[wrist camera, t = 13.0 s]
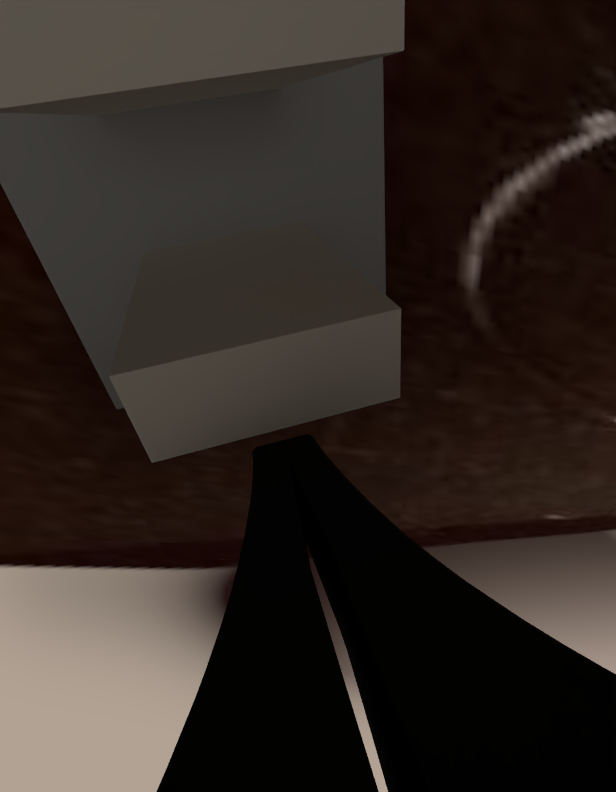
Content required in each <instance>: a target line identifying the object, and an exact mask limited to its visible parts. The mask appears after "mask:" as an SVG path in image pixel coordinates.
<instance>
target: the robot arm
mask: <svg viewBox="0 0 616 792" xmlns="http://www.w3.org/2000/svg"><path fill="white" fill-rule="evenodd" d="M252 453H253V483H252V492H251V501H250V507H249V513H248V520H247V526H246V531H245V536H244V541H243V545H242V549H241V554H240V558H239V563H238V567H237V571H236V575H235V579H234V583H233V587H232V591H231V594H230V597H229V601H228V604H227V607H226V611H225V614H224V617H223V621H222V624H221V627H220V630H219V633H218V636H217V639H216V642H215V645H214V647H213V650H212V654H211V656H210V659H209V662H208V665H207V668H206V671H205V673H204V676H203V679H202V682H201V685H200V687H199V690H198V692H197V695H196V698H195V700H194V703H193V705H192V708H191V710H190V712H189V715H188V717H187V720H186V722H185V725H184V727H183V730H182V732H181V735H180V737H179V740H178V742H177V744H176V747H175V749H174V752H173V754H172V757H171V759H170V762H169V764H168V767H167V769H166V771H165V774H164V776H163V778H162V780H161V783H160V785H159V788H158V790H157V792H378V789H377V785H376V782H375V779H374V776H373V772H372V769H371V766H370V763H369V760H368V756H367V753H366V750H365V747H364V744H363V741H362V737H361V734H360V731H359V728H358V724H357V721H356V718H355V714H354V711H353V708H352V705H351V701H350V698H349V695H348V691H347V688H346V685H345V682H344V678H343V675H342V672H341V669H340V665H339V662H338V659H337V655H336V653H335V649H334V646H333V642H332V639H331V636H330V632H329V629H328V626H327V622H326V619H325V616H324V612H323V609H322V606H321V602H320V599H319V595H318V592H317V589H316V585H315V582H314V579H313V575H312V572H311V568H310V563H309V557H308V552H307V547H306V542H307V545H308V548H309V550H310V553H311V556H312V558H313V561H314V563H315V566H316V568H317V571H318V574H319V576H320V579H321V581H322V584H323V587H324V589H325V592H326V594H327V597H328V600H329V602H330V605H331V607H332V610H333V613H334V615H335V618H336V620H337V623H338V626H339V628H340V631H341V634H342V637H343V640H344V643H345V645H346V648H347V651H348V655H349V658H350V661H351V665H352V668H353V672H354V675H355V678H356V682H357V685H358V688H359V692H360V696H361V699H362V702H363V706H364V709H365V713H366V716H367V720H368V723H369V727H370V730H371V733H372V737H373V740H374V744H375V747H376V751H377V754H378V758H379V761H380V765H381V768H382V772H383V775H384V779H385V782H386V786H387V789H388V792H616V674H614V673H612V672H611V671H609V670H607V669H605V668H603V667H602V666H600V665H598V664H596V663H595V662H593V661H591V660H590V659H588V658H586V657H584V656H583V655H581V654H579V653H577V652H576V651H574V650H572V649H571V648H569V647H567V646H565V645H564V644H562V643H560V642H559V641H557V640H556V639H554V638H552V637H551V636H549V635H547V634H546V633H544V632H543V631H541V630H539V629H538V628H536V627H534V626H533V625H531V624H530V623H528V622H526V621H525V620H523V619H521V618H520V617H519V616H517V615H516V614H514V613H512V612H511V611H509V610H508V609H507V608H505V607H504V606H502V605H501V604H499V603H498V602H496V601H494V600H493V599H492V598H490V597H488V596H487V595H486V594H484V593H483V592H481V591H480V590H478V589H477V588H475V587H474V586H472V585H471V584H469V583H468V582H466V581H465V580H464V579H462V578H461V577H459V576H458V575H457V574H455V573H454V572H453V571H451V570H450V569H449V568H447V567H446V566H445V565H443V564H442V563H441V562H439V561H438V560H437V559H435V558H434V557H433V556H431V555H430V554H429V553H428V552H427V551H425V550H424V549H423V548H421V547H420V546H419V545H418V544H416V543H415V542H414V541H413V540H412V539H410V538H409V537H408V536H407V535H406V534H405V533H403V532H402V531H401V530H400V529H399V528H398V527H396V526H395V525H394V524H393V523H392V522H391V521H390V520H389V519H388V518H386V517H385V516H384V515H383V514H382V513H381V512H380V511H379V510H378V509H377V508H376V507H375V506H374V505H372V504H371V503H370V502H369V501H368V500H367V499H366V498H365V497H364V496H363V495H362V494H361V493H360V492H359V491H358V490H357V489H356V488H355V486H354V485H353V484H352V483H351V482H350V481H349V480H348V479H347V478H346V477H345V476H344V475H343V474H342V473H341V472H340V470H339V469H338V468H337V467H336V466H335V465H334V464H333V462H332V461H331V460H330V459H329V458H328V456H327V455H326V454H325V453H324V451H323V450H322V449H321V448H320V446H319V445H318V444H317V442H316V441H315V439H314V438H313V437H312V436H311V435H309V434H306V435H302V436H298V437H294V438H290V439H286V440H282V441H279V442H275V443H271V444H267V445H263V446H259V447H256V448H255V450H254V451H253V452H252ZM305 540H306V541H305Z"/></svg>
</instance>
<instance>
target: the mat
mask: <svg viewBox="0 0 616 792" xmlns="http://www.w3.org/2000/svg"><path fill="white" fill-rule="evenodd" d="M0 183H1V185H2V187H3V189H4V191H5V193H6V195H7V197H8V199H9V201H10V203H11V205H12V207H13V209H14V211H15V213H16V215H17V216H18V218H19V220H20V222H21V224H22V226H23V228H24V230H25V232H26V234H27V236H28V238H29V240H30V242H31V244H32V246H33V248H34V250H35V252H36V253H37V255H38V257H39V259H40V261H41V263H42V265H43V267H44V269H45V271H46V273H47V275H48V277H49V279H50V281H51V283H52V285H53V287H54V289H55V290H56V292H57V294H58V296H59V298H60V300H61V302H62V304H63V306H64V308H65V310H66V312H67V314H68V316H69V318H70V320H71V322H72V324H73V326H74V327H75V329H76V331H77V333H78V335H79V337H80V339H81V341H82V343H83V345H84V347H85V349H86V351H87V353H88V355H89V357H90V359H91V361H92V363H93V364H94V366H95V368H96V370H97V372H98V374H99V376H100V378H101V380H102V382H103V384H104V386H105V388H106V390H107V392H108V394H109V396H110V398H111V400H112V401H113V403H114V405H115V407H116V409H120V408H124V406H123V404H122V402H121V400H120V398H119V396H118V394H117V392H116V390H115V388H114V386H113V384H112V382H111V380H110V378H109V374H110V370H111V367H112V363H113V360H114V356H115V353H116V349H117V346H118V342H119V339H120V335H121V332H122V328H123V325H124V321H125V318H126V314H127V311H128V307H129V304H130V300H131V297H132V293H133V290H134V286H135V283H136V279H137V276H138V272H139V269H140V265H141V262H142V258H143V255H144V251H149V250H154V249H159V248H164V247H169V246H174V245H179V244H185V243H190V242H195V241H200V240H205V239H210V238H215V237H220V236H226V235H231V234H236V233H241V232H246V231H251V230H256V229H261V228H266V227H272V226H277V225H282V224H287V223H292V222H297V221H301V222H302V223H303V224H304V225H306V226H307V227H308V228H309V229H310V230H311V231H312V232H314V233H315V234H316V235H317V236H318V237H319V238H321V239H322V240H323V241H324V242H325V243H326V244H327V245H329V246H330V247H331V248H332V249H333V250H334V251H335V252H337V253H338V254H339V255H340V256H341V257H342V258H344V259H345V260H346V261H347V262H348V263H349V264H350V265H352V266H353V267H354V268H355V269H356V270H357V271H359V272H360V273H361V274H362V275H363V276H364V277H365V278H367V279H368V280H369V281H370V282H371V283H372V284H373V285H375V286H376V287H377V288H378V289H379V290H380V291H382V292H383V293H384V294H385V295H386V267H385V186H384V105H383V57H381V58H378V59H375V60H371V61H368V62H365V63H362V64H358V65H355V66H352V67H349V68H345V69H342V70H339V71H336V72H332V73H329V74H326V75H323V76H319V77H316V78H313V79H310V80H306V81H303V82H300V83H297V84H293V85H290V86H287V87H284V88H277V89H271V90H264V91H257V92H251V93H244V94H237V95H231V96H224V97H217V98H211V99H204V100H197V101H191V102H184V103H178V104H171V105H164V106H158V107H151V108H144V109H138V110H131V111H124V112H118V113H111V114H104V115H98V116H89V115H58V114H28V113H0Z"/></svg>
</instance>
